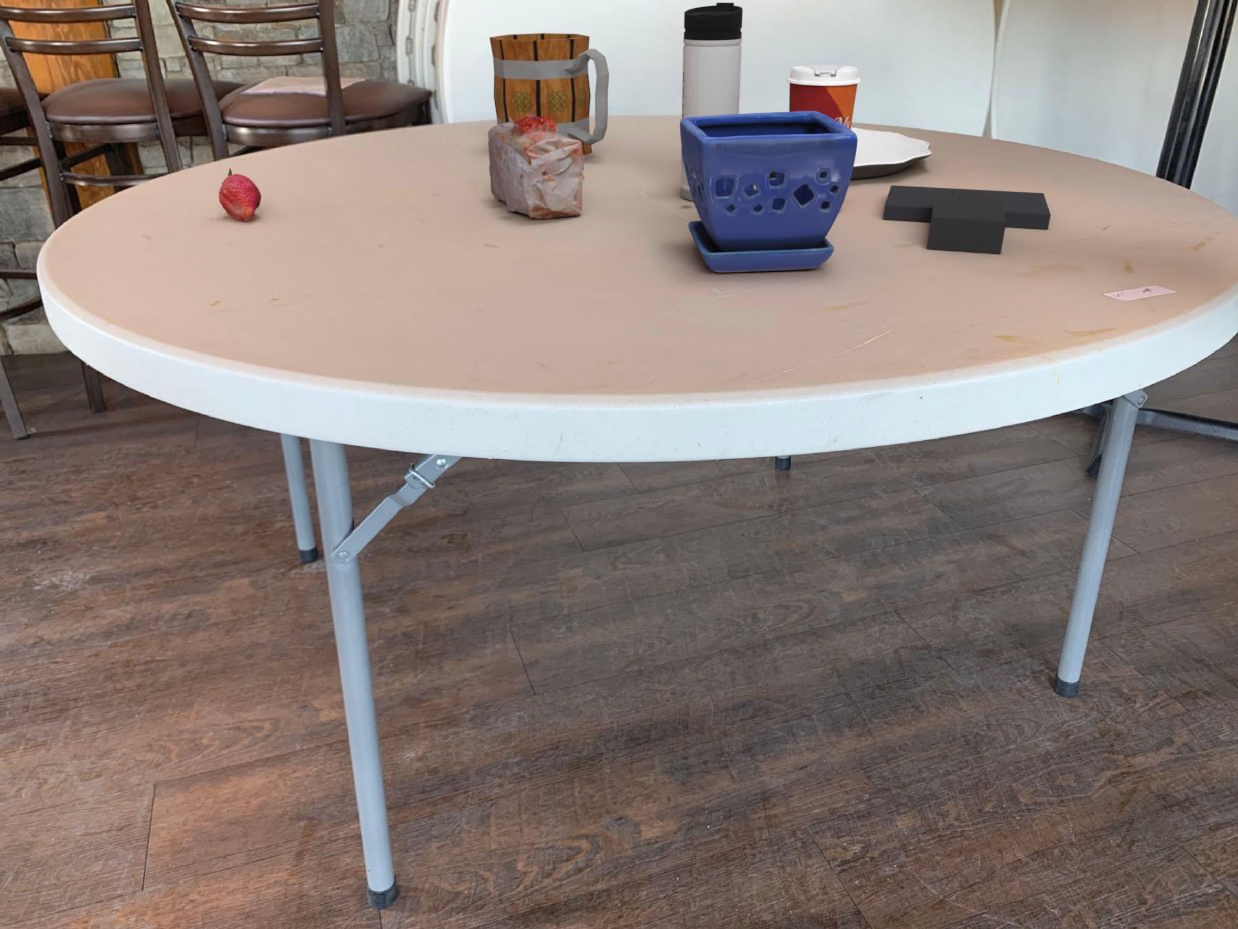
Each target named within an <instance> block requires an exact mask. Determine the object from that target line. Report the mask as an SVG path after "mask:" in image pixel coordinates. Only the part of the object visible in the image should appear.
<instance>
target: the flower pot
mask: <svg viewBox="0 0 1238 929" xmlns="http://www.w3.org/2000/svg"><path fill="white" fill-rule="evenodd" d="M679 135H680V145H681V147H682V154H683V161H684V166H685V171H686V177H687V181H688V185H689V188H690V192H691V195H692V198H693V201H692V202H693V204H694V206H695V209H696V213H697V214H698V217H699V219H700V220H692V221H691V220H690V221H689V222H688V224H687V226H688V230H689V233H690V235H691V237H692V239H693V241H694V243H695V245H696V247H697V249H698V251H699V254H700V255H701V258H702V259H703V261H704V263H705V265H706V266H707V267H708V268H709V269H710V270H711V271H712V272H714V273H746V272H772V271H794V270H796V271H797V270H812V269H816V268H818V267H820V266H822V265H823V264H824V263H825V262H826V261H827V260H829V259H830V258H831V256H832V255H833V253H834V250H835V248H834V245H833V244H832V243H830V241H829V240H828V239H827V238H826V237H827V235H828V234H829V233H830V230H831V229H832V227H833V225H834V223H835V222H836V219H837V217H838V216H839V213H840V212H841V209H842V207H843V204H844V201H845V198H846V195H847V193H848V191H849V186H850V183H851V180H852V179H851V175H852V171H853V166H854V162H855V157H856V150H857V143H858V138H857V135H856V134H855V133H854V132H853V131H852V130H851V129H849V128H848V127H846V126H844V125H843V124H841V123H839V122H837V121H835V120H833V119H831V118H830V117H828V116H826V115H824V114H822V113H819V112H817V111H797V112H789V111H775V112H774V111H773V112H751V113H750V112H749V113H739V114H729V115H714V116H700V117H688V118H683V119H682V118H681V119H680V121H679ZM773 171H775V174H776V175H775V177H771V176H770V174H771V172H773Z"/></svg>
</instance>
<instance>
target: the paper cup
mask: <svg viewBox="0 0 1238 929" xmlns="http://www.w3.org/2000/svg"><path fill="white" fill-rule="evenodd" d="M786 82H787V83H789V92H788V94H789V96H788V97H789V98H788V100H789V101H788V104H789V105H788V112H797V111H817V112H819V113H822V114H824V115H826V116H828V117H830V118H831V119H833V120H835V121H837V122H839V123H841V124H843V125H844V126H846V127H848V128H849V129H851V128H852V123H853V116H854V110H855V103H856V97H857V91H858V84H860V83H861V82H862V80H861V78H860V77H859V69H858V67H856V66H853V65H852V66H851V65H843V64H804V65H803V64H801V65H795V66H792V68H791V70H790V75H789V77H788V78H787V79H786Z"/></svg>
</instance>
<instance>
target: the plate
mask: <svg viewBox="0 0 1238 929" xmlns="http://www.w3.org/2000/svg"><path fill="white" fill-rule="evenodd" d="M851 130H852V131H853V132H854V133H855V134H856V135H857V138H858V143H857V150H856V157H855V162H854V166H853V171H852V175H851V179H850V180H858V179H867V178H876V177H882V176H888V175H891V174H895V173H897V172H899V171H902V170H904V169H906V168H907V167H908V166H910V165H913V164H915V163H918V162H920V161H922V160H924V159H927V158H929V157H931V156H932V155H933V152H932V151H931V150H930V149H929V148H930V146H931V144H930V143H929V142H928V141H926V140H922V139H918V138H913V137H910V136H907V135H904V134H902V133H897V132H893V131H883V130H871V129H864V128H858V127H851ZM775 175H776V174H775V171H773V172H771V174H770V178H773V177H775Z"/></svg>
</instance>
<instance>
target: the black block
mask: <svg viewBox="0 0 1238 929" xmlns="http://www.w3.org/2000/svg"><path fill="white" fill-rule="evenodd" d="M960 189H961V188H954V189H953V192H952V195H945V194H934V201H933V208H932V215H931V222H929V231H928V239H927V247H926V248H927V250H935V251H951V252H952V251H953V252H967V253H980V254H981V253H982V254H995V255H1001V253H1002V248H1003V247H1002V246H1003V243H1004V236H1005V233H1006V232H1005V231H1006V227H1005V226H1006V217H1005V210H1004V203H1003V198H1000V197H984V191H978V190H979V189H973V190H960Z"/></svg>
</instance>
